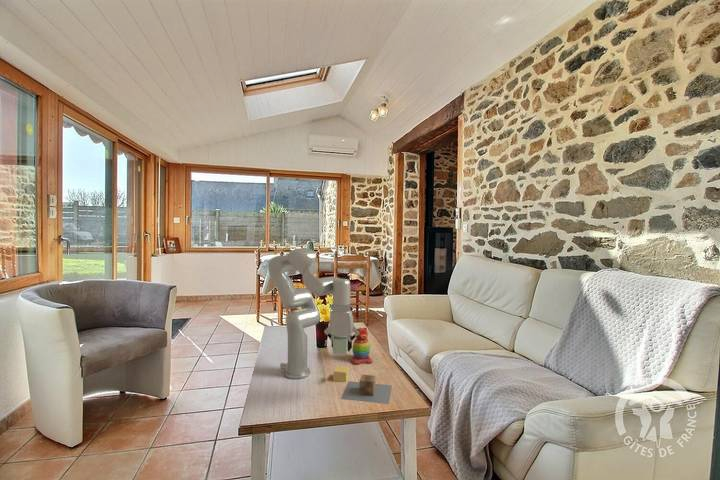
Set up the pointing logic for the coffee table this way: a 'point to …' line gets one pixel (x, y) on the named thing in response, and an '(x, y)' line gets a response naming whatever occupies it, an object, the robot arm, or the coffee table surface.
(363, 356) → the stacking bear
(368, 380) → the walnut base block
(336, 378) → the ochre block
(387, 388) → the slate base board
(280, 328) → the coffee table surface
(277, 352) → the coffee table surface
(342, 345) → the sage-green block
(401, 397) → the coffee table surface
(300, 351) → the robot arm
